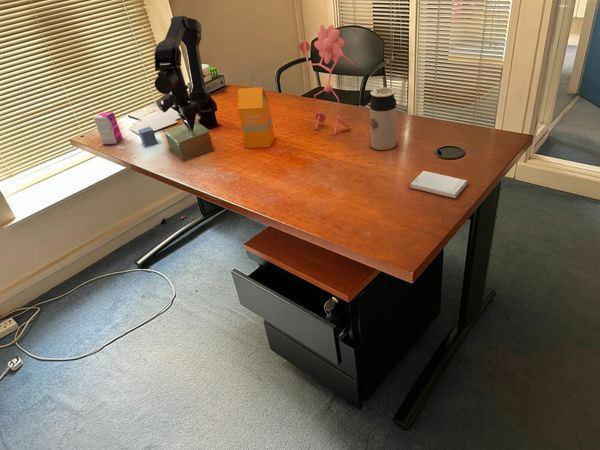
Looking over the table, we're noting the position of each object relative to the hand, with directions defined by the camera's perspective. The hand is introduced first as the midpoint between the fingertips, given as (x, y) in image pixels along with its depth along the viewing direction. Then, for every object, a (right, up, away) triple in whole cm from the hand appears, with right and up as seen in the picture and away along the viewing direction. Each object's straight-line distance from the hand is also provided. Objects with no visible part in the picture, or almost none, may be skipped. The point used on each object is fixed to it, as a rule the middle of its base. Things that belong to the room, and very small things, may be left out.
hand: (189, 127), depth 157 cm
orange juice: (+25, -6, +1) cm, 26 cm away
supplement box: (-35, -2, +20) cm, 41 cm away
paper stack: (-22, +10, +34) cm, 42 cm away
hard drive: (+77, -25, -37) cm, 89 cm away
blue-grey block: (-19, -3, +14) cm, 24 cm away
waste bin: (0, -7, +4) cm, 8 cm away
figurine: (+54, +2, +6) cm, 54 cm away
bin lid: (-1, -2, 0) cm, 2 cm away
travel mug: (+67, -9, -13) cm, 69 cm away
